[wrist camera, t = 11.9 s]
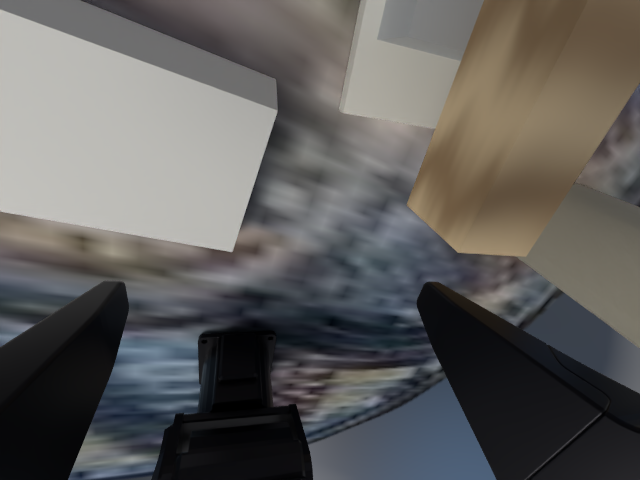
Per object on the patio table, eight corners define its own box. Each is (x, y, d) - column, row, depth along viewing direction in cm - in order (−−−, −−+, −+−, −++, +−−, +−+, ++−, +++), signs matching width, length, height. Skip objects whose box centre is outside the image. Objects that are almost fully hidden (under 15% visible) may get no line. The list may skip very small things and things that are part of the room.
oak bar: (619, -359, 9) (969, -742, 4) (700, -281, 10) (1035, -524, 6) (406, 205, 17) (458, 252, 13) (462, 211, 18) (525, 256, 14)
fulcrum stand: (495, 138, 21) (548, 155, 18) (338, 110, 18) (363, 125, 14) (579, -46, 16) (678, -75, 13) (386, -131, 13) (443, -204, 9)
